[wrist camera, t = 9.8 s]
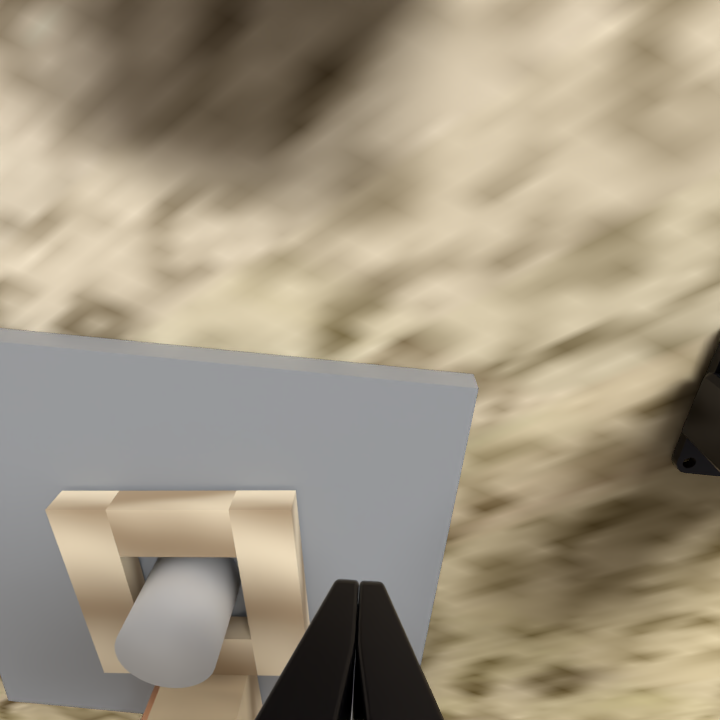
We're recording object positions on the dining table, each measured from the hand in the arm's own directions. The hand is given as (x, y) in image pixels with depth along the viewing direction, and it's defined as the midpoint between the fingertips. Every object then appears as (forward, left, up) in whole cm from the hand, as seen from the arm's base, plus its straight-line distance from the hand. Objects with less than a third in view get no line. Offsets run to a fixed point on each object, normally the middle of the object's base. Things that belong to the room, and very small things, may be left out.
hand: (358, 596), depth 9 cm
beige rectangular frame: (+6, +15, -11) cm, 19 cm away
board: (+7, +12, -12) cm, 18 cm away
